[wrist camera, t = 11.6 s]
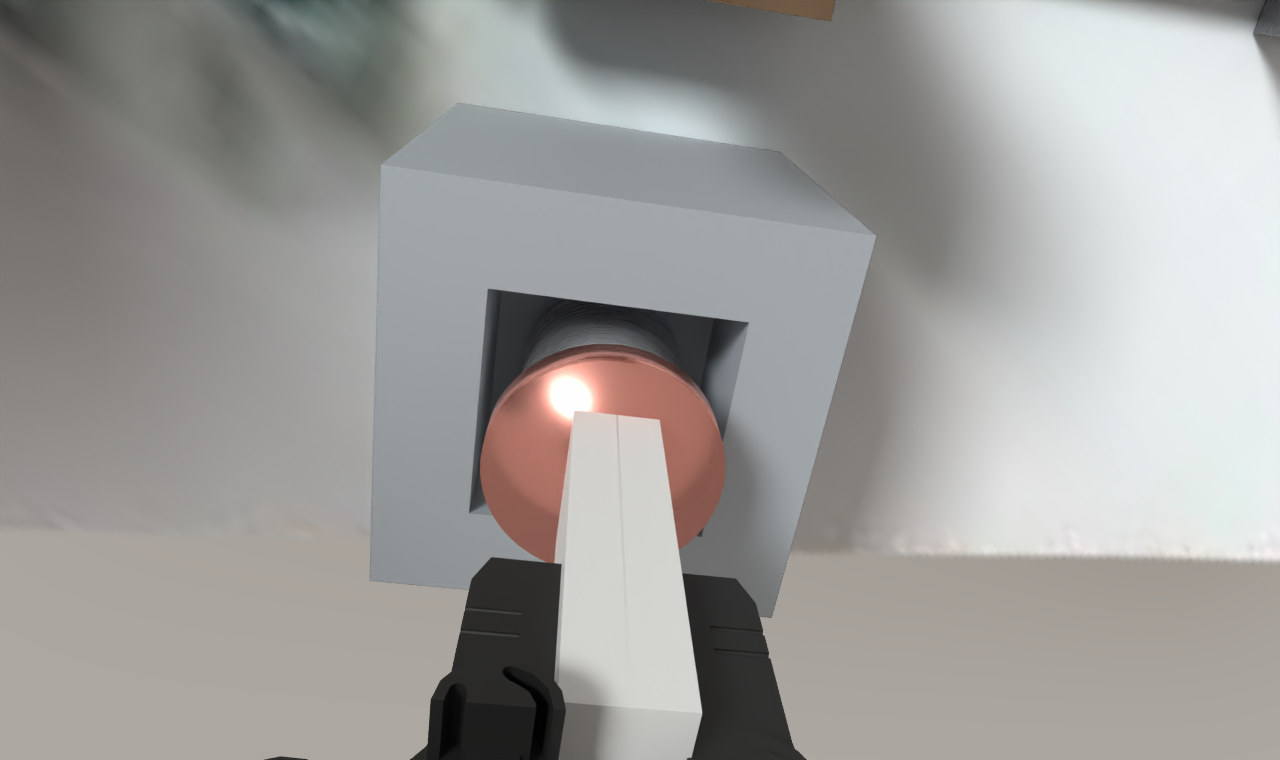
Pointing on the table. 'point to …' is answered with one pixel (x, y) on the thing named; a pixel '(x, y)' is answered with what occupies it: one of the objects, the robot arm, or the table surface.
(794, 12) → the carriage
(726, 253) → the housing
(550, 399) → the plunger
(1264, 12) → the rail
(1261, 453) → the table surface
